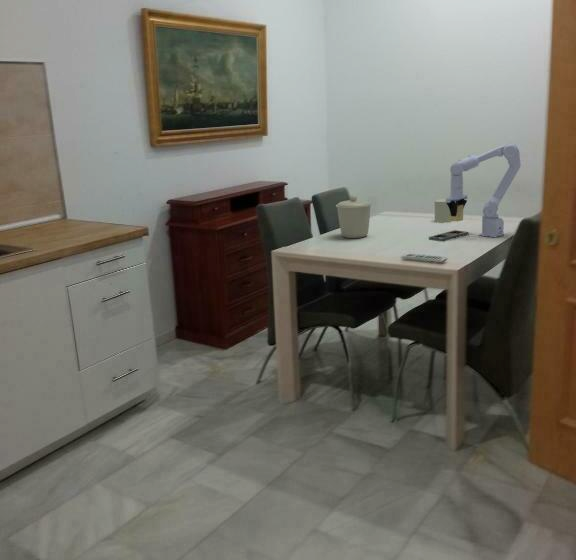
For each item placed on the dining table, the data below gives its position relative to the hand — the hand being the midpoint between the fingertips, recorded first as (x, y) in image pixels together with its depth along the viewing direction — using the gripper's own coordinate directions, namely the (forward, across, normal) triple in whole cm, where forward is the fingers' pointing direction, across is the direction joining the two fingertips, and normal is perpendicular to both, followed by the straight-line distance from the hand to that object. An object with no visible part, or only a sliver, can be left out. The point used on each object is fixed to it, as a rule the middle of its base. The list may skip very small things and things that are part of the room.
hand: (456, 215), depth 310 cm
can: (+10, -26, -28) cm, 40 cm away
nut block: (+2, 0, 0) cm, 2 cm away
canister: (+10, +31, -40) cm, 51 cm away
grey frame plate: (+10, +6, 0) cm, 11 cm away
